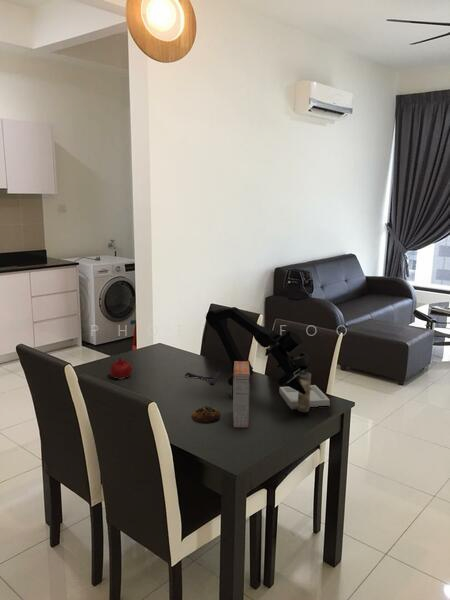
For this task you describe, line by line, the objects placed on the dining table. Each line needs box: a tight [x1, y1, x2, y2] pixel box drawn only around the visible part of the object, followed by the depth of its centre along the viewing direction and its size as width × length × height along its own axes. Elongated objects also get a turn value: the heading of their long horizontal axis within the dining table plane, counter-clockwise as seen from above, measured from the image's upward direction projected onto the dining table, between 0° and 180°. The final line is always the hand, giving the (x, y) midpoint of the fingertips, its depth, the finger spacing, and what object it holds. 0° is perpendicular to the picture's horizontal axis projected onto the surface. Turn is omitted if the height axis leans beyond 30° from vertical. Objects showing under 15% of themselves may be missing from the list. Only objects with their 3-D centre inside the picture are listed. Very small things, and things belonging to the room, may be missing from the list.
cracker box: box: [232, 360, 251, 429], centre depth 187 cm, size 14×6×21 cm, turn 178°
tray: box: [278, 384, 331, 410], centre depth 209 cm, size 16×16×3 cm
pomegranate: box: [109, 357, 133, 378], centre depth 230 cm, size 10×10×9 cm
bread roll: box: [191, 405, 221, 424], centre depth 191 cm, size 11×11×5 cm
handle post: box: [296, 371, 312, 413], centre depth 193 cm, size 4×4×14 cm
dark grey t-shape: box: [184, 371, 221, 386], centre depth 231 cm, size 14×15×3 cm
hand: (307, 391), depth 193 cm, fingers closed on handle post, 4 cm apart
